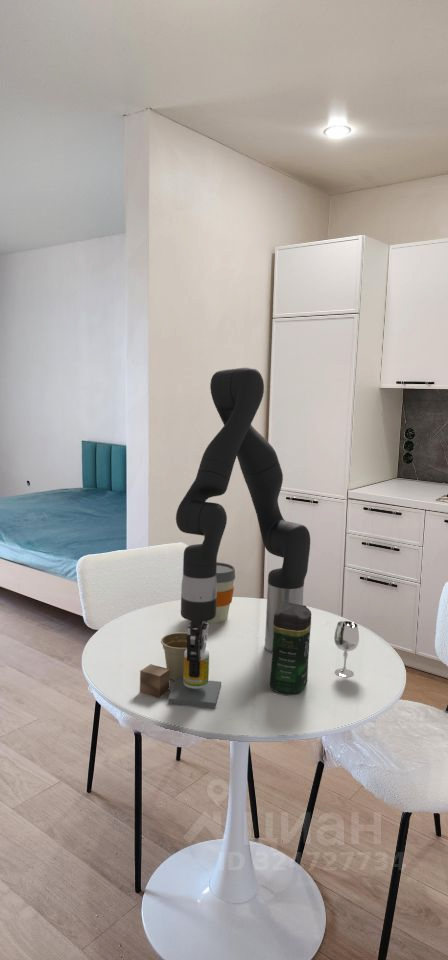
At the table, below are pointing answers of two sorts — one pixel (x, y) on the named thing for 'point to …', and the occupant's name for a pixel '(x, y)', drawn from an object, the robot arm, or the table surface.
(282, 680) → the coffee jar
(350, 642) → the wineglass
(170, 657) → the flower pot
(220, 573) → the reusable coffee cup
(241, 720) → the table surface
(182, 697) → the coaster
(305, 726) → the table surface
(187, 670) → the supplement bottle
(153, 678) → the walnut block
